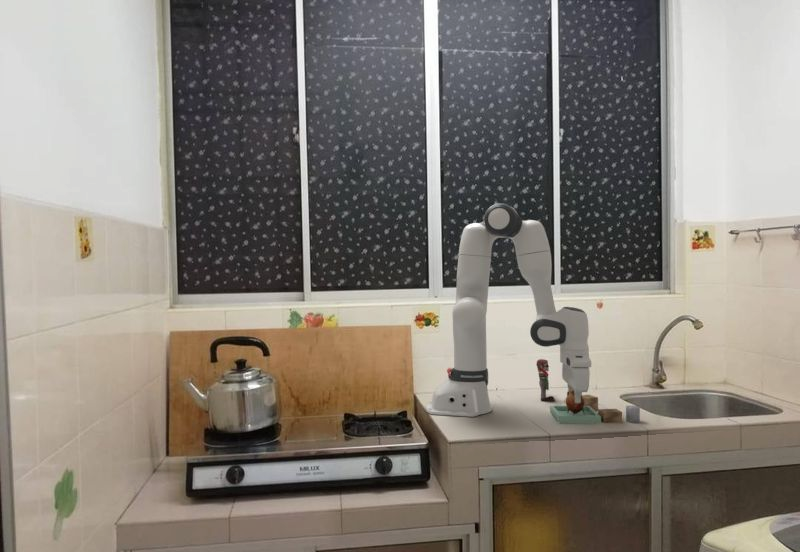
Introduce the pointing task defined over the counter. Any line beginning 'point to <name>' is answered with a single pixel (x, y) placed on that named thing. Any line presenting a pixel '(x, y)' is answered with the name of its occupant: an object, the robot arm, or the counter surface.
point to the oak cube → (591, 401)
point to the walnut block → (610, 415)
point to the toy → (544, 380)
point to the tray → (575, 415)
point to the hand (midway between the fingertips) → (574, 399)
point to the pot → (572, 405)
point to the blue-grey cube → (633, 414)
